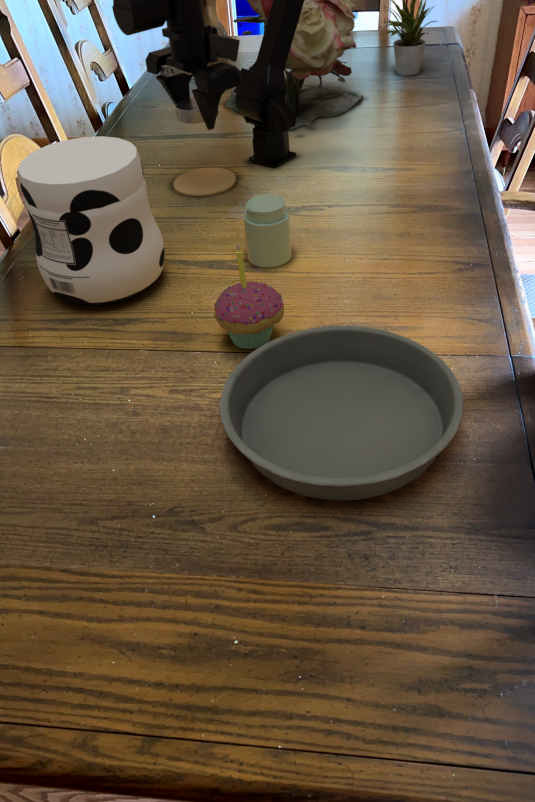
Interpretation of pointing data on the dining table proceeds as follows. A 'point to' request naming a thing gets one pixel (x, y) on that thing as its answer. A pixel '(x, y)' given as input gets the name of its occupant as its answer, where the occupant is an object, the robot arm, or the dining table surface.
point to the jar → (267, 231)
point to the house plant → (408, 38)
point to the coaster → (204, 181)
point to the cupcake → (248, 310)
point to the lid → (189, 111)
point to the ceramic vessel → (213, 22)
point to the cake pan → (341, 411)
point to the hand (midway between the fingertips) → (199, 124)
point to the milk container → (92, 219)
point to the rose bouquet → (313, 57)
